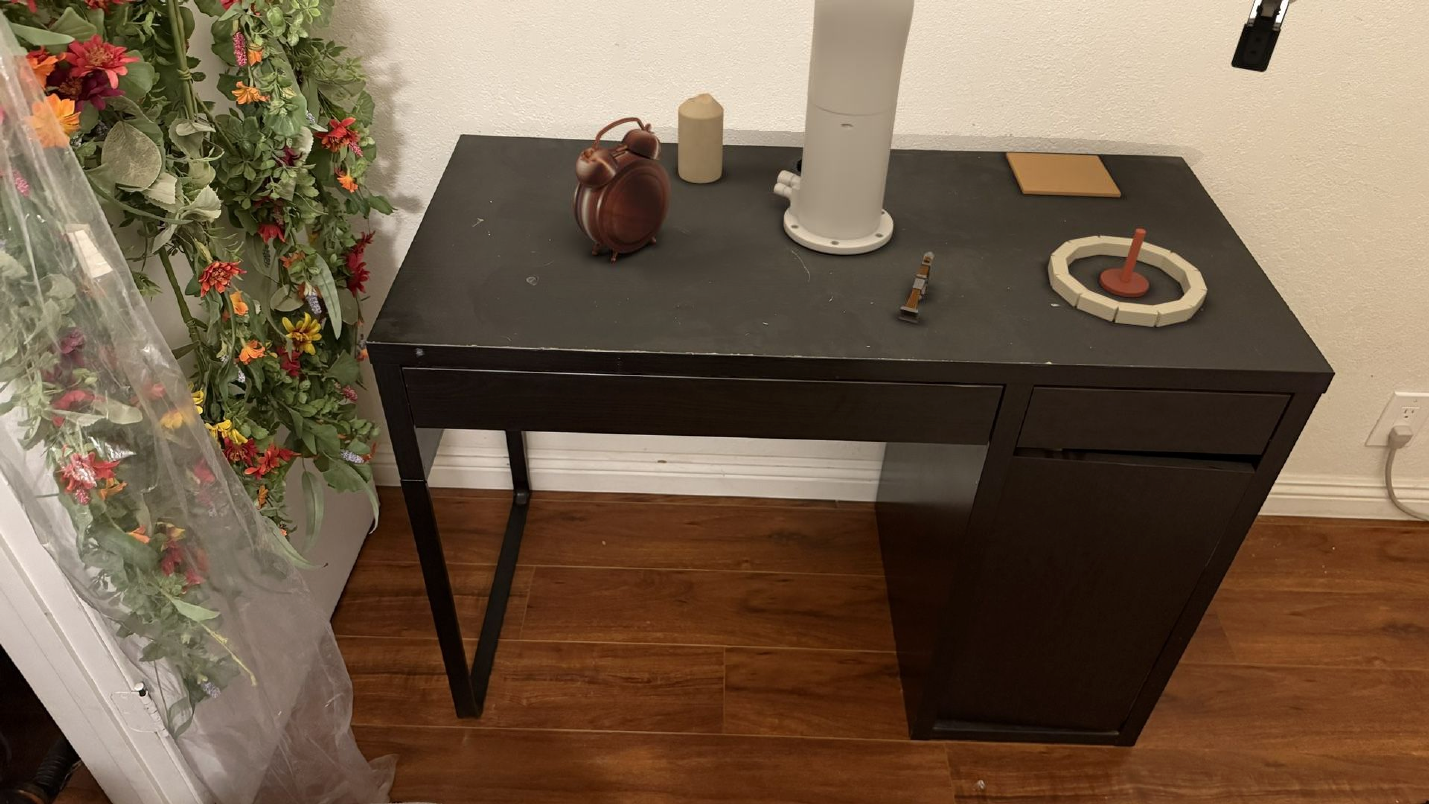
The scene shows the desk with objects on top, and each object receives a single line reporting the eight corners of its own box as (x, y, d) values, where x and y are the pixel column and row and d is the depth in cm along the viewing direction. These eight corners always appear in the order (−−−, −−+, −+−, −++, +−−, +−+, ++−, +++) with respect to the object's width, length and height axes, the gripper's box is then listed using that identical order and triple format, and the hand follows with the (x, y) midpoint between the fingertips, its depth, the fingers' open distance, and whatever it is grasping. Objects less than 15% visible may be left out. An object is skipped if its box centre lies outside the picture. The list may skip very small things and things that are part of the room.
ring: (1168, 344, 98) (1173, 331, 97) (1023, 288, 106) (1027, 275, 105) (1220, 282, 108) (1225, 269, 107) (1084, 234, 115) (1087, 222, 114)
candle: (695, 160, 128) (696, 85, 122) (730, 172, 126) (733, 95, 120) (669, 175, 125) (668, 98, 119) (704, 188, 123) (706, 109, 116)
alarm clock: (645, 225, 115) (642, 99, 105) (674, 240, 112) (674, 113, 103) (572, 259, 109) (562, 128, 99) (601, 275, 106) (593, 143, 97)
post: (1091, 286, 107) (1108, 231, 103) (1110, 268, 110) (1126, 214, 106) (1136, 303, 104) (1155, 247, 100) (1154, 284, 107) (1173, 229, 103)
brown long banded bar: (937, 275, 106) (939, 249, 102) (915, 336, 103) (917, 311, 99) (920, 271, 106) (922, 245, 102) (898, 332, 103) (900, 307, 99)
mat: (1023, 193, 123) (1024, 190, 123) (1005, 155, 132) (1006, 152, 132) (1120, 197, 123) (1121, 193, 123) (1096, 158, 132) (1097, 155, 131)
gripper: (1284, -158, 96) (1224, 23, 107) (1266, -126, 84) (1201, 73, 95) (1371, -150, 93) (1301, 35, 104) (1365, -116, 81) (1286, 89, 92)
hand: (1253, 53), depth 99 cm, fingers open, 9 cm apart
